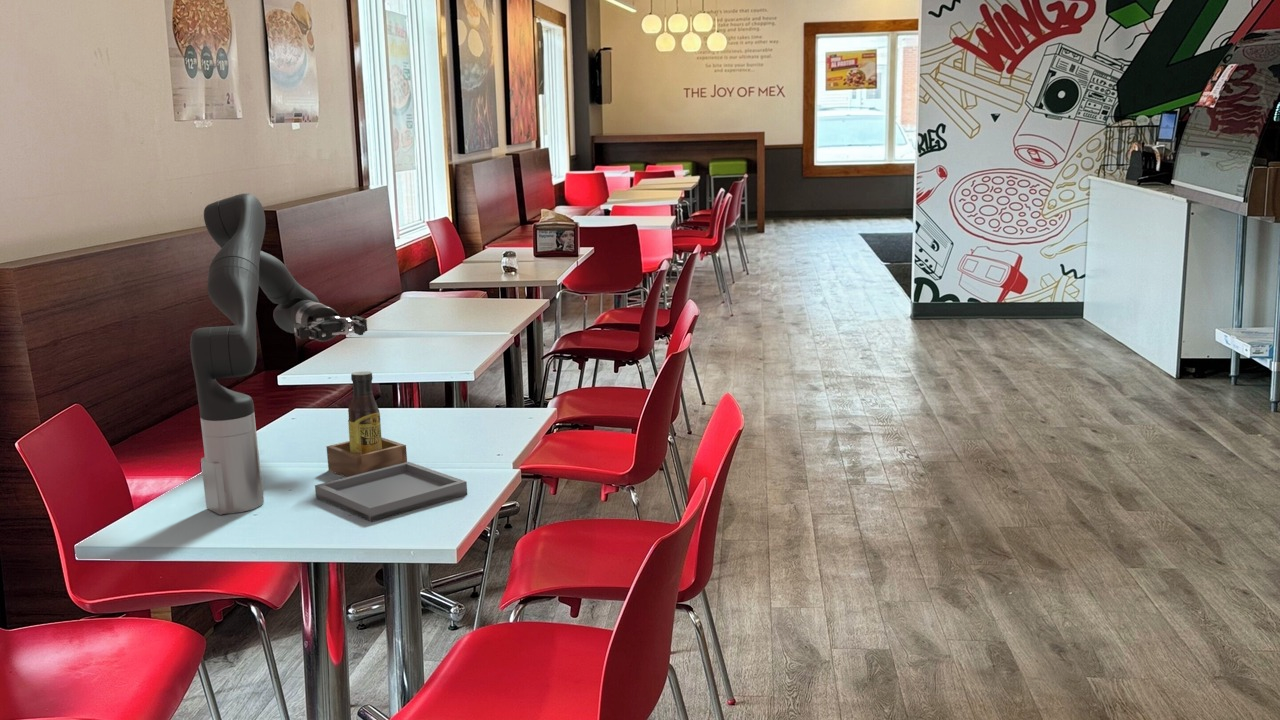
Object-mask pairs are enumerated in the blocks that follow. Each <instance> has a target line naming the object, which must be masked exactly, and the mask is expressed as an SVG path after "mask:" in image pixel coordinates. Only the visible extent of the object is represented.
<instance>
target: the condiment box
mask: <svg viewBox="0 0 1280 720" xmlns="http://www.w3.org/2000/svg"><path fill="white" fill-rule="evenodd" d="M381 439H382V450H377V451H373V452H369V453H365V454H361V455H357V454H354V453H351V452H350V440H347V441H343V442H339V443H334V444H330V445H327V446H325V447H326V456H327V466H328V467H327V468H328V471H330V472H333V473H334V474H337V475H341V476H343V477H344V478H346V477H350V476H354V475H358V474H362V473H366V472H369V471H373V470H377V469H381V468H385V467H389V466H393V465H397V464H401V463H405V462H408V455H407V445H406V444H404V443H401V442H397V441H394V440H391V439H388V438H385V437H382V436H381Z"/></svg>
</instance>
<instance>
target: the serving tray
mask: <svg viewBox="0 0 1280 720" xmlns="http://www.w3.org/2000/svg"><path fill="white" fill-rule="evenodd" d="M467 483H468V482H467V481H466V480H464V479H461V478H459V477H458V478H457V477H454V476H451V475H448V474H445V473H442V472H440V471H436V470H435V469H431V468H428V467H425V466H423V465H419V464H418V463H417V464H416V463H414V462H410V461H407V462H405V463H401V464H397V465H393V466H389V467H385V468H381V469H377V470H373V471H369V472H366V473H362V474H358V475H354V476H350V477H343V478H339V479H335V480H331V481H327V482H326V481H325V482H323V483H319V484H315V485H314V489H315V490H314V491H315V498H316V499H317V500H320V501H322V502H324V503H327V504H328V505H332V506H333V507H336V508H338V509H340V510H342V511H345V512H348V513H350V514H351V515H354V516H356V517H359V518H361V519H364V520H366V521H368V522H370V523H372V522H375V521H376V522H377V521H379V520H383V519H387V518H390V517H393V516H397V515H400V514H404V513H408V512H411V511H414V510H418V509H422V508H425V507H428V506H432V505H435V504H439V503H442V502H446V501H449V500H452V499H456V498H460V497H464V496H467V495H468V484H467Z"/></svg>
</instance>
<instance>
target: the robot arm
mask: <svg viewBox="0 0 1280 720" xmlns="http://www.w3.org/2000/svg"><path fill="white" fill-rule="evenodd" d="M203 221H204V225H205V227H206V230H207V231H208V233H209V235H210V237H211V238H212V240H213V241H214V242H215V243H216V244H217V246H219V247H220V250H219V251H218V252H217V253H216V254H215V256H214V257H213V259H212V260H211V262H210V265H209V268H208V277H207V284H206V289H207V290H206V291H207V294H208V297H209V299H210V300H211V302H212V304H213V305H214V306H215V307H216V308H217V309H218V310H219V311H220V312H221V313H223V315H224V316H226V317H227V318H228V319H229V320H230V321H231V322H232V323H233V325H224V326H219V325H218V326H209V327H199V328H196V329H194V330H193V331H192V333H191V337H190V342H189V347H190V357H191V364H192V369H193V374H194V375H193V376H194V380H195V386H196V393H197V394H196V395H197V401H198V408H199V417H200V418H199V419H200V426H201V435H202V436H201V437H202V443H203V444H202V446H203V452H204V456H203V457H201V459H200V464H201V473H202V481H203V489H204V497H205V508H206V509H208V510H210V511H211V512H214V513H215V514H217V515H219V516H222V515H226V514H238V513H242V512H247V511H251V510H254V509H256V508H260V507H261V506H262V505H264V502H265V501H264V500H265V499H264V489H263V481H262V470H261V462H260V454H259V445H258V435H257V426H256V417H255V416H256V415H255V406H254V400H253V398H252V397H251V396H250V395H248V394H245V393H243V392H240V391H234V390H232V389H229V388H227V387H225V386H223V385H221V384H220V383H219V382H218V381H217V379H226V378H238V377H240V378H241V377H245V376H248V375H251V374H252V373H253V371H254V370H255V367H256V365H257V357H258V346H257V344H258V343H257V342H258V341H257V314H256V313H257V305H258V295H259V287H260V289H261V290H262V292H263V293H264V295H265V296H266V298H267V299H268V300H269V301H271V302H272V304H276V305H277V306H276V307H275V308H274V309H273V313H272V314H273V315H272V317H273V320H274V322H275V324H276V326H278V327H279V328H280V329H281V330H282V331H285V332H286V333H289V334H294V336H295V337H296V338H297V339H299V340H301V341H304V340H306V338H307V337H308V338H309V339H310V340H315V341H318V342H327V341H328V342H329V341H330V340H333V339H334V338H335V337H337V336H339V335H345V336H346V335H350V334H352V333H353V334H356V335H358V336H363V335H364V333H366V332H367V331H368V323H367V322H368V321H367V320H368V319H367V318H364V317H361V316H358V315H354V316H351V317H352V318H350V317H341V316H340V314H339V313H338V311H336V309H334V308H332V307H330V306H327V305H325V304H323V303H321V302H320V300H319V299H318V297H317V296H316V295H315V294H314V293H313V292H312V291H310V290H309V289H307V288H306V287H303V286H302V285H301V284H300V283H299V282H298V281H297V280H296V279H295V278H294V276H293V275H292V273H291V272H290V271H289V269H288V268H287V266H286V265H285V263H283V262H282V261H281V260H280V259H278V258H277V257H276V256H274V255H272V254H270V253H267V252H265V251H263V250H262V246H263V242H264V238H265V233H266V215H265V211H264V208H263V205H262V202H261V201H260V200H259V198H257V196H256V195H253V194H251V193H239V194H236V195H233V196H229V197H227V198H223V199H221V200H216V201H214V202H211V203H208V204H207V205H206V206H205V207H204V210H203Z"/></svg>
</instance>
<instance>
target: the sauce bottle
mask: <svg viewBox="0 0 1280 720" xmlns="http://www.w3.org/2000/svg"><path fill="white" fill-rule="evenodd" d="M350 380H351V382H352V399H351V400H350V402H349V405H348V409H347V411H348V412H347V414H348V423H347V424H348V436H349V437H348V438H349V440H348V441H350V452H351V453H354V454H357V455H361V454H365V453H369V452H373V451H377V450H382V439H381V437H382V427H381V426H382V425H381V413H380V409H379V407H378V404H377V401H376V400H375V396H374V391H373V383H372V381H373V372H372V371H368V370H367V371H365V370H363V371H355V372H352V373H351V379H350Z"/></svg>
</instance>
